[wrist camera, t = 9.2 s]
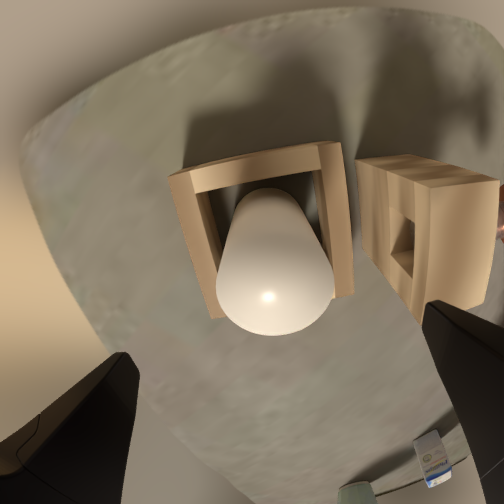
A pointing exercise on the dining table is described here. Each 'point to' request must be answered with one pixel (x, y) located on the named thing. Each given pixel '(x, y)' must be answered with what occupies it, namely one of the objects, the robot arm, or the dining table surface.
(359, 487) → the disposable coffee cup
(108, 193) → the dining table surface
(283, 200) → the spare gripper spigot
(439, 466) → the medicine box
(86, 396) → the robot arm
